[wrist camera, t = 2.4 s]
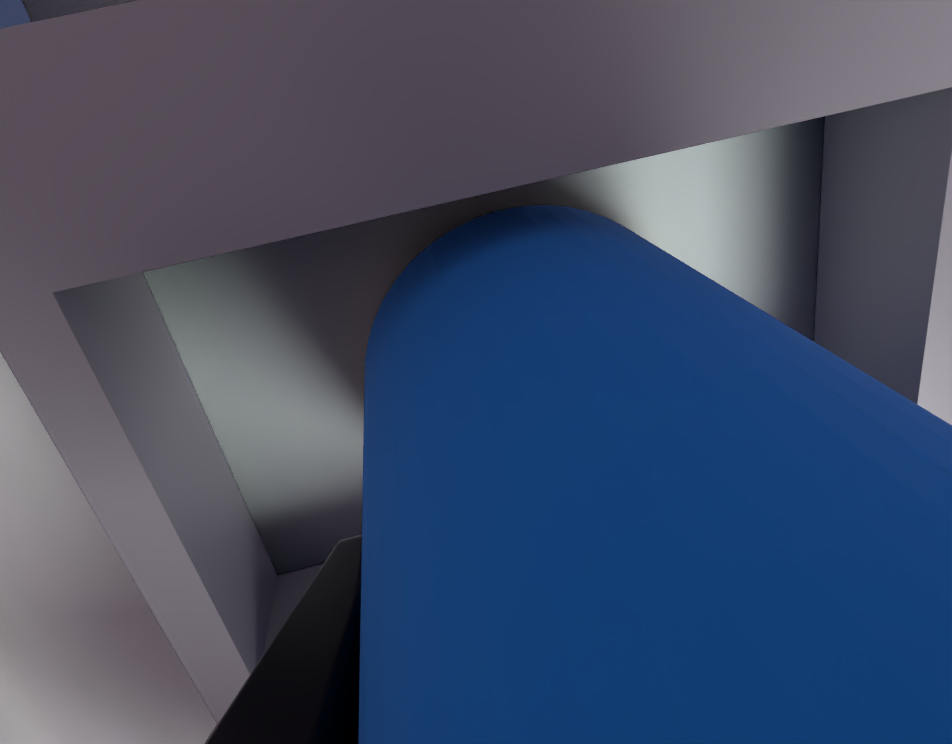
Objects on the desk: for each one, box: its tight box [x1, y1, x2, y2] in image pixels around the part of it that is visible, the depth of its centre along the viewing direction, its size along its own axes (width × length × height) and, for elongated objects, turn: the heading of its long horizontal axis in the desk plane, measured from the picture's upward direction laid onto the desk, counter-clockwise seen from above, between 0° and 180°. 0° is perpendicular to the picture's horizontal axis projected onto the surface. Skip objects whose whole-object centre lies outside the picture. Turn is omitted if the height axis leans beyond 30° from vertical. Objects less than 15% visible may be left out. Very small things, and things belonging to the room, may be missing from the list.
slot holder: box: [0, 0, 952, 724], centre depth 9 cm, size 21×15×4 cm
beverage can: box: [358, 205, 952, 744], centre depth 8 cm, size 6×6×12 cm
